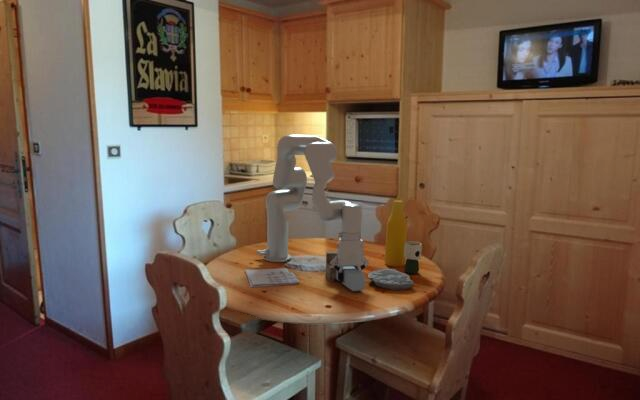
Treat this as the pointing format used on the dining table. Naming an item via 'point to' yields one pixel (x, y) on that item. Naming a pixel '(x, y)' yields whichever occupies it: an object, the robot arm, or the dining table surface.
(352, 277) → the grey rectangular block
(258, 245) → the dining table surface
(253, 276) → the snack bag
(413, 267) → the character mug
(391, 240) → the yellow bottle
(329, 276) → the notched brown block
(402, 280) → the flat grey rock
